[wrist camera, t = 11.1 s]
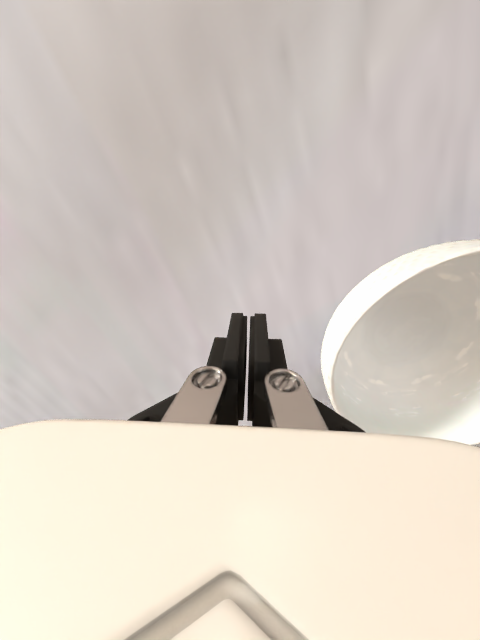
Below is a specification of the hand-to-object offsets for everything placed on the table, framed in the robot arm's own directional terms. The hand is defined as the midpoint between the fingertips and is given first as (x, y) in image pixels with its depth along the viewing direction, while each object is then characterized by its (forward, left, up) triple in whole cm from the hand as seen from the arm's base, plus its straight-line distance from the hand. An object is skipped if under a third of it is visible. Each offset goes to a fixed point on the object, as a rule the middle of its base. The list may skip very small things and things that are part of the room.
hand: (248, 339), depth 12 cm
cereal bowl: (+4, +14, -10) cm, 18 cm away
